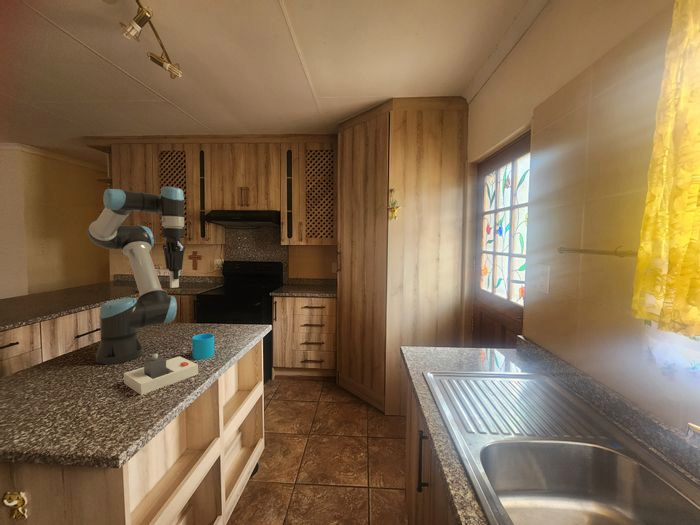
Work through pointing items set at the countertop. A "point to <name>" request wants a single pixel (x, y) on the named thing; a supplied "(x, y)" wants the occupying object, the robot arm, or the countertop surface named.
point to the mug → (203, 346)
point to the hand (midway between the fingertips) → (174, 287)
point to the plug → (155, 366)
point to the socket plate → (174, 373)
